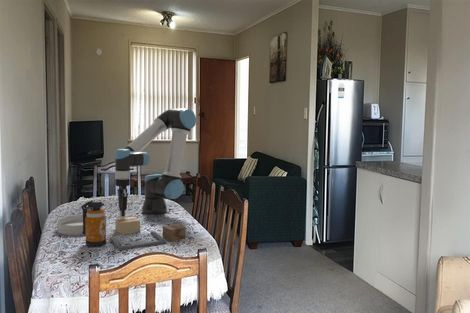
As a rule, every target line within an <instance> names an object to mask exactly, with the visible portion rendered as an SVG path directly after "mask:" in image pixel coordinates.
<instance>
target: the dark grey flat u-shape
mask: <svg viewBox="0 0 470 313" xmlns="http://www.w3.org/2000/svg"><path fill="white" fill-rule="evenodd" d="M150 235H151V236H152V237H154V238H155V239H156V240H154V241H153V240H152V241H147V242H139V243H133V244H126V245H122V244H121V243H120V241H119V240H118V239H117V238H116V236H115V235H112V236H109V240H110V241H111V242H112V244H113V245H114V246H115V248H116V249H117V250H118V251H124V250H125V251H126V250H131V249H139V248H144V247H146V248H147V247H152V246H159V245H165V244H167V240H166V239H164V238H163V236H161V235H160V234H159V233H158V232H157V231H155V230H151V231H150Z"/></svg>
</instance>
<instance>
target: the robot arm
mask: <svg viewBox="0 0 470 313" xmlns="http://www.w3.org/2000/svg"><path fill="white" fill-rule="evenodd" d="M196 123H197V116H196V114H195V112H194V111H193V110H192V109H189V108H184V107H183V108H169V109H167V110H164V112H161V113H160V114H159V115H158V116H157V117H155V118H154V120H153V122H152V123H151V124H150V125H149V126H148V127H147V128H146V129H145V130H143V131H142V132H141V133H140V134H139V135H138V136H137V137H135V138H134V139H133V140H132V141H131V142H130V143H129V144H128V145H126V146H125V147H124V148H117V149H115V152H114V156H113V157H114V164H115V165H114V167H115V172H114V175H115V181H114V182H115V184H114V185H115V186H116V187H118V189H117V200H118V209H119V219H121V218H126V210H127V209H128V208H127V207H128V197H129V193H128V189H127V187H129V186H130V185H131V179H130V178H131V167H140V166H147V165H148V164H149V163H150V155H149V153H148V152H146V151H143V150H144V149H145V148H147V146H148V145H149V144H151V143H152V142H153V140H155V139H156V138H157V137H159V136H160V134H162V133H163V132H166V131H167V130H169V129H170V131H172V136H171V139H170V144H169V150H168V157H167V160H166V164H165V165H166V166H165V170H164V172H163V173H155V174H147V175H145V177H144V201H143V204H142V207H141V212H142V213H143V214H146V215H147V214H148V215H158V214H165V213H167V212H168V207H167V205H166V201H165V198H166V199H170V200H171V199H172V200H174V199H177V198H179V197H180V196H181V195H182V193H183V191H184V188H185V187H184V183H183V180H182V176H181V174H180V173H181V168H182V164H183V158H184V154H185V153H184V152H185V147H186V142H187V138H188V135H190V133H191V130H192V129H193V128H194V127H195V126H196V125H197V124H196Z"/></svg>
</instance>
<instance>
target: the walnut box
mask: <svg viewBox="0 0 470 313" xmlns="http://www.w3.org/2000/svg"><path fill="white" fill-rule="evenodd" d="M186 228H187V227H186V226H183V225H181V224H180V223H179V224H178V223H173V224H168V225H167V224H166V225H163V226H162V238H163V239H165V240H166V241H168V242H171V243H173V242H177V241H179V242H180V241H183V240H186V237H187V236H186ZM182 239H183V240H182Z"/></svg>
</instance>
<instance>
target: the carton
mask: <svg viewBox="0 0 470 313" xmlns="http://www.w3.org/2000/svg"><path fill="white" fill-rule="evenodd" d="M114 220H115V221H114V223H115V224H114V225H115V226H114V228H115V229H114V230H115V232H117V234H120V235H125V234H131V233H137V232H141V220H140V219H139V218H137V217H135V216H130V217H125V218H121V219H120V218H116V219H114Z"/></svg>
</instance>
